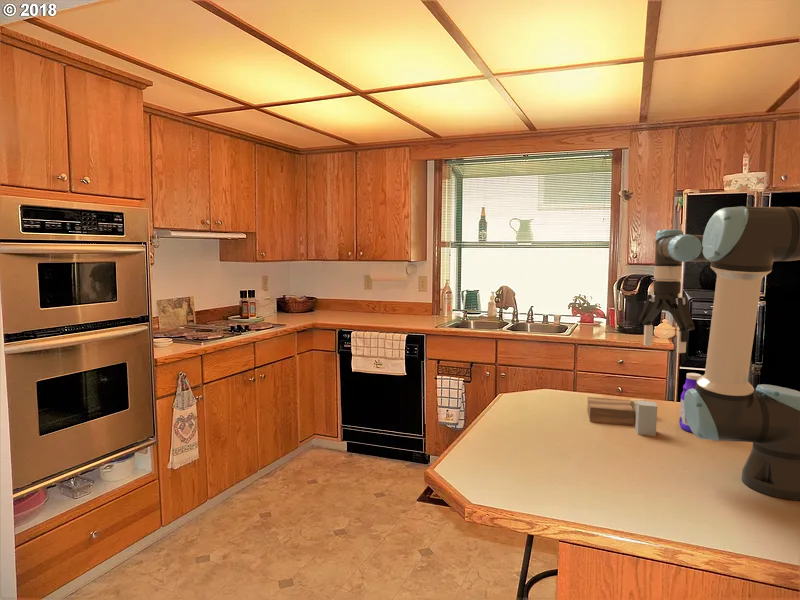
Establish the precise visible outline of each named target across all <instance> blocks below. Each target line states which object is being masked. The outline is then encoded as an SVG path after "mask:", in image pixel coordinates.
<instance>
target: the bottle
mask: <svg viewBox="0 0 800 600" xmlns="http://www.w3.org/2000/svg"><path fill="white" fill-rule="evenodd" d="M701 376H702V374H700V373H696V372H687V373H686V376H685V377H686V379H685V383H684V384H683V386H682V388H683V391H682V392H681V394H680V405H679V406H680V407H679V408H680V409H679V420H678V424H679V427H680V428H681V429H683V430H684V431H686V432H688V433H693V432H692V431H691V429H690V427H689V425H688V422H687V418H686V414H685V408H684V397H685V393H686V391H687V390H689V389H692V388H694V389H696V382H697V379H698V378H699V377H701Z"/></svg>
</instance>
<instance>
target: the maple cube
mask: <svg viewBox="0 0 800 600" xmlns="http://www.w3.org/2000/svg"><path fill="white" fill-rule="evenodd" d="M637 401H647V399H643V398H642V399H640V398H639V399H638V398H636V399H632V398H630V399H629V402H630V404H631V406H632V408H633V410H634V419H636V404H637Z"/></svg>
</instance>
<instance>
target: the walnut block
mask: <svg viewBox="0 0 800 600" xmlns="http://www.w3.org/2000/svg"><path fill="white" fill-rule="evenodd" d="M586 407H587V415H588V420H589V423H591V422H592V423H600V422H601V423H603V424H612V425H613V424H614V425H624V426H634V419H635V417H634V410H633V408H632V406H631V404H630V399H618V398H607V397H606V398H603V397H591V396H588V397H587V406H586ZM601 423H600V424H601Z"/></svg>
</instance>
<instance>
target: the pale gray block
mask: <svg viewBox="0 0 800 600" xmlns="http://www.w3.org/2000/svg"><path fill="white" fill-rule="evenodd" d="M657 417H658V405H657V404H656V402H654V401H648V400H646V401H637V404H636V418H635V426H634V429H635V432H636V434H637V435H641V436H652V437H656V436H657V420H658V418H657Z"/></svg>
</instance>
